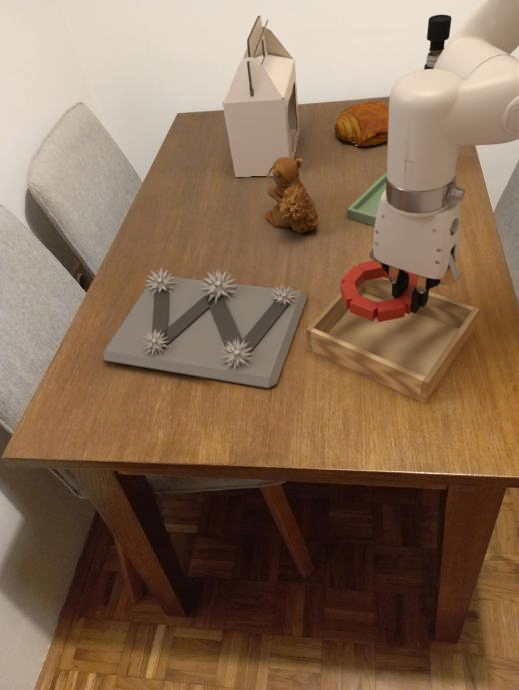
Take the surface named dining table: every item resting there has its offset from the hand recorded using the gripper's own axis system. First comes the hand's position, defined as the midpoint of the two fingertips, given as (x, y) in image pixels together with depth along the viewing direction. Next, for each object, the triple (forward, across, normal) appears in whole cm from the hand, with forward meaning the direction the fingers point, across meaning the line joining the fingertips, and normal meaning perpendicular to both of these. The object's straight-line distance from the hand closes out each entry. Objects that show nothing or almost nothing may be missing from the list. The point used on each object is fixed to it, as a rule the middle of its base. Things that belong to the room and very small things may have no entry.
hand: (409, 303), depth 74 cm
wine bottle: (+10, +20, -48) cm, 53 cm away
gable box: (+9, +57, -40) cm, 71 cm away
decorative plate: (+9, +29, +14) cm, 34 cm away
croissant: (+10, +40, -58) cm, 72 cm away
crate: (+9, +2, 0) cm, 10 cm away
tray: (+10, +18, -34) cm, 39 cm away
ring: (0, +4, 0) cm, 5 cm away
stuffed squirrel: (+9, +34, -20) cm, 41 cm away
